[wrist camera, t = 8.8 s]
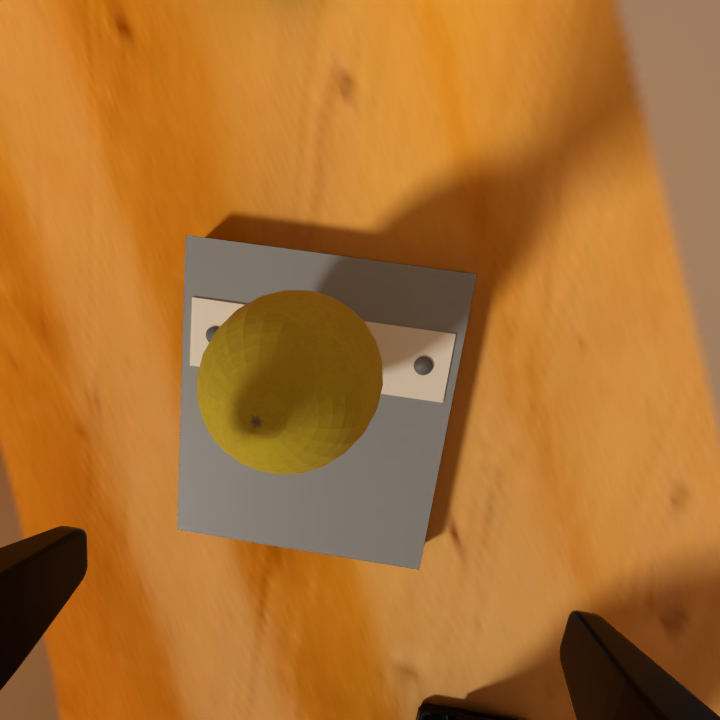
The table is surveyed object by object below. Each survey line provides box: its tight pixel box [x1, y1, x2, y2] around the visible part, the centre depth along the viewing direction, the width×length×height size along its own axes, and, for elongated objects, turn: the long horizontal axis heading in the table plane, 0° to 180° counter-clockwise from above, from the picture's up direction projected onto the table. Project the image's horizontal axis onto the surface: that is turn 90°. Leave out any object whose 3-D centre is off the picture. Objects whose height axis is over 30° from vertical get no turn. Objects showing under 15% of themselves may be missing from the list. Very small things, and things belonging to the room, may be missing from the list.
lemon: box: [197, 290, 383, 475], centre depth 12 cm, size 6×6×8 cm
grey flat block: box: [177, 235, 477, 570], centre depth 18 cm, size 14×12×2 cm
